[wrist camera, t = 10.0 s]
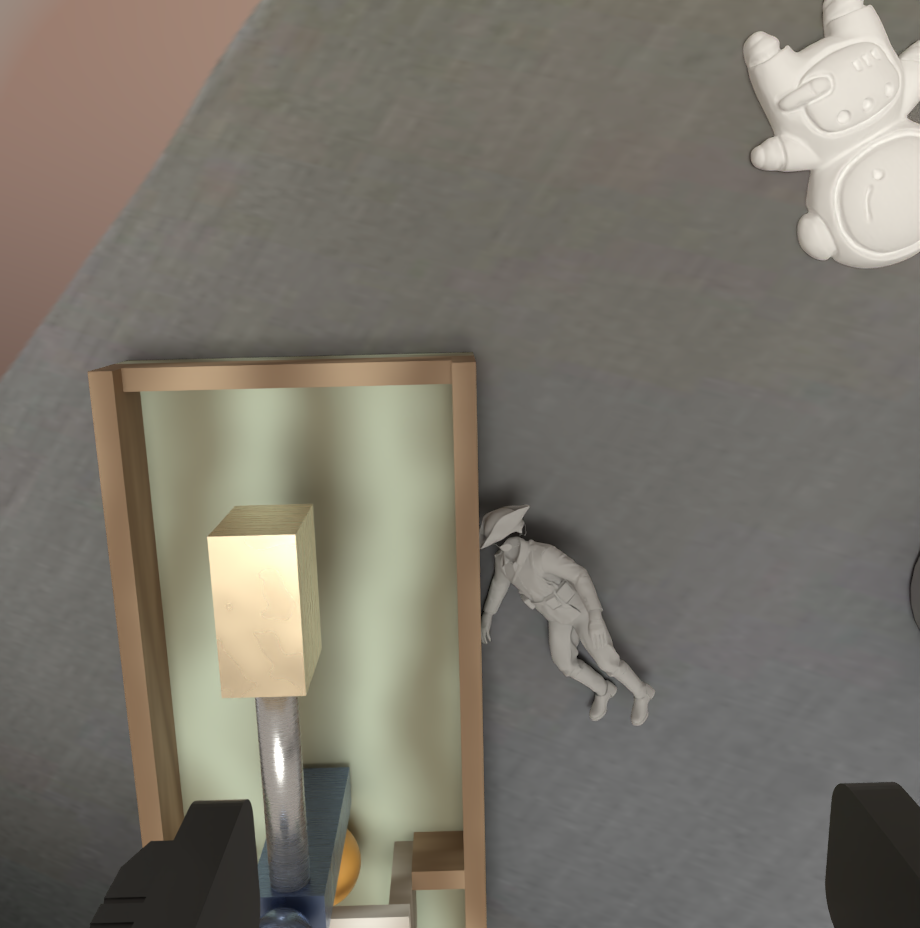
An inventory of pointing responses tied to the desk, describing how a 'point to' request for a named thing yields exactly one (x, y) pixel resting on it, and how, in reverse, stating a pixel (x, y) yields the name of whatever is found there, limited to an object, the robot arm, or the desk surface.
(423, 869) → the pitch
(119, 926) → the robot arm
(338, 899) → the ball
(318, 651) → the foosball rod
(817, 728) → the desk surface
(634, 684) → the soldier figure
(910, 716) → the desk surface
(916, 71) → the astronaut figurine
